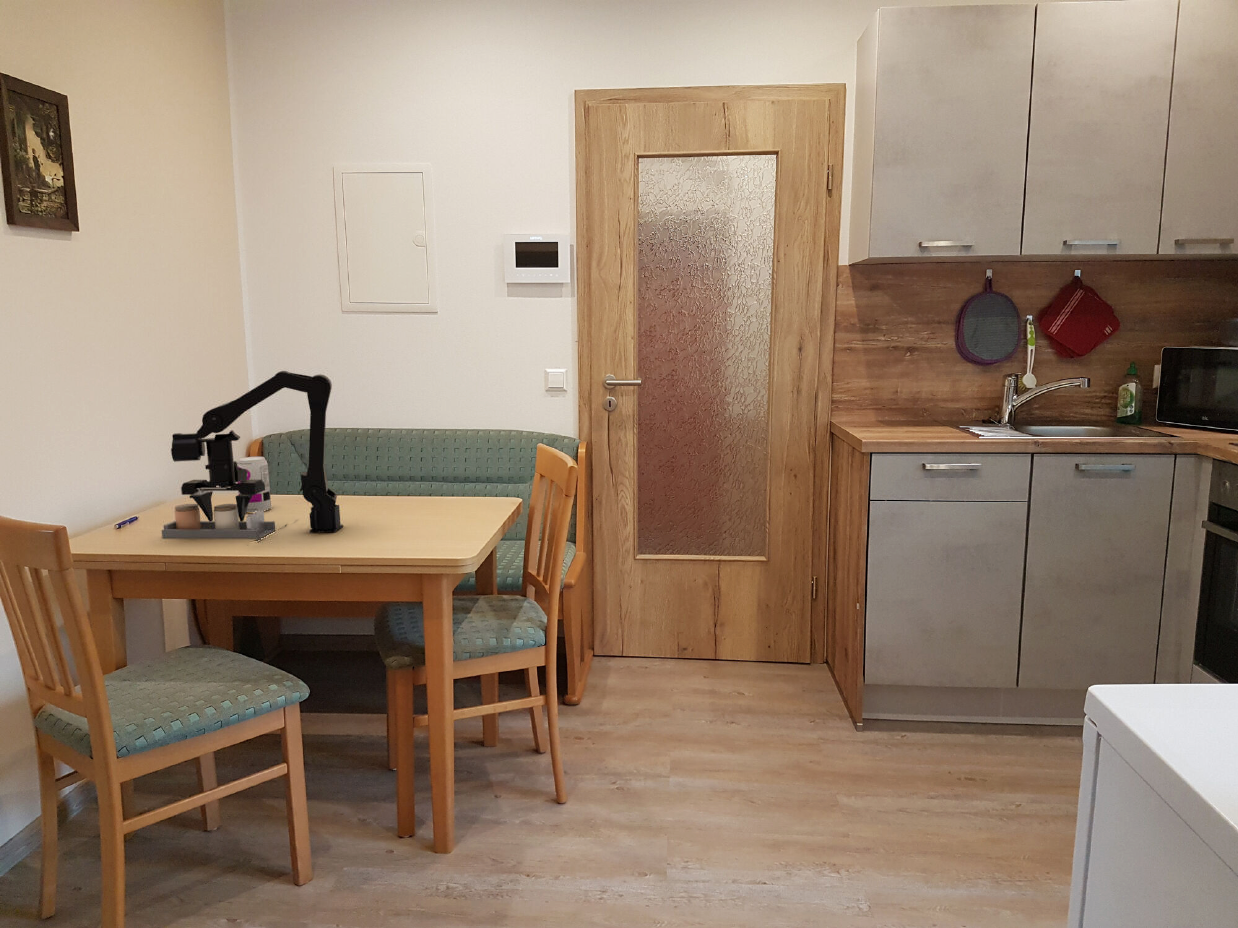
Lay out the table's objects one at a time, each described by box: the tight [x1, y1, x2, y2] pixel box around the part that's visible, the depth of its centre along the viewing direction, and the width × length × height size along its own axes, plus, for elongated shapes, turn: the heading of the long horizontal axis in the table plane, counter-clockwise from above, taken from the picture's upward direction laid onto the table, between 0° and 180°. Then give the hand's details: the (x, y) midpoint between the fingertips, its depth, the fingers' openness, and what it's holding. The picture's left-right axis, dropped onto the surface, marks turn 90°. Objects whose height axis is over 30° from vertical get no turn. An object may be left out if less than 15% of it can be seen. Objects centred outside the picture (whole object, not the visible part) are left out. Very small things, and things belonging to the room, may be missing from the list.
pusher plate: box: [245, 510, 265, 532], centre depth 210 cm, size 1×7×5 cm, turn 176°
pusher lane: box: [161, 520, 276, 541], centre depth 211 cm, size 24×10×4 cm, turn 86°
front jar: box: [174, 503, 202, 529], centre depth 211 cm, size 6×6×7 cm
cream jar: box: [213, 503, 240, 530], centre depth 211 cm, size 6×6×7 cm
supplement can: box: [236, 456, 272, 512], centre depth 240 cm, size 8×8×15 cm
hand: (226, 521), depth 211 cm, fingers open, 8 cm apart
